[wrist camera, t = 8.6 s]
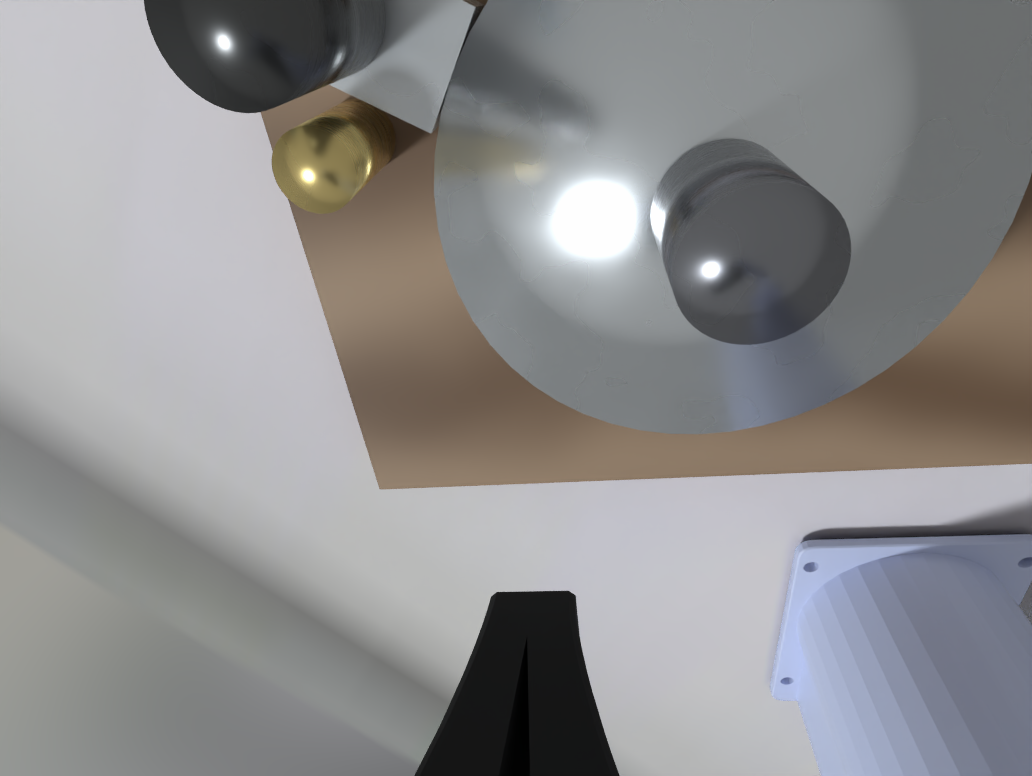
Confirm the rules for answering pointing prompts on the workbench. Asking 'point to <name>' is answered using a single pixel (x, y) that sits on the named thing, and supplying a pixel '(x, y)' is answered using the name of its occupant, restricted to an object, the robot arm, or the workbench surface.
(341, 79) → the crank
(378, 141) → the dowel
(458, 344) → the base board
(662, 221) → the post
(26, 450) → the workbench surface
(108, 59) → the workbench surface
